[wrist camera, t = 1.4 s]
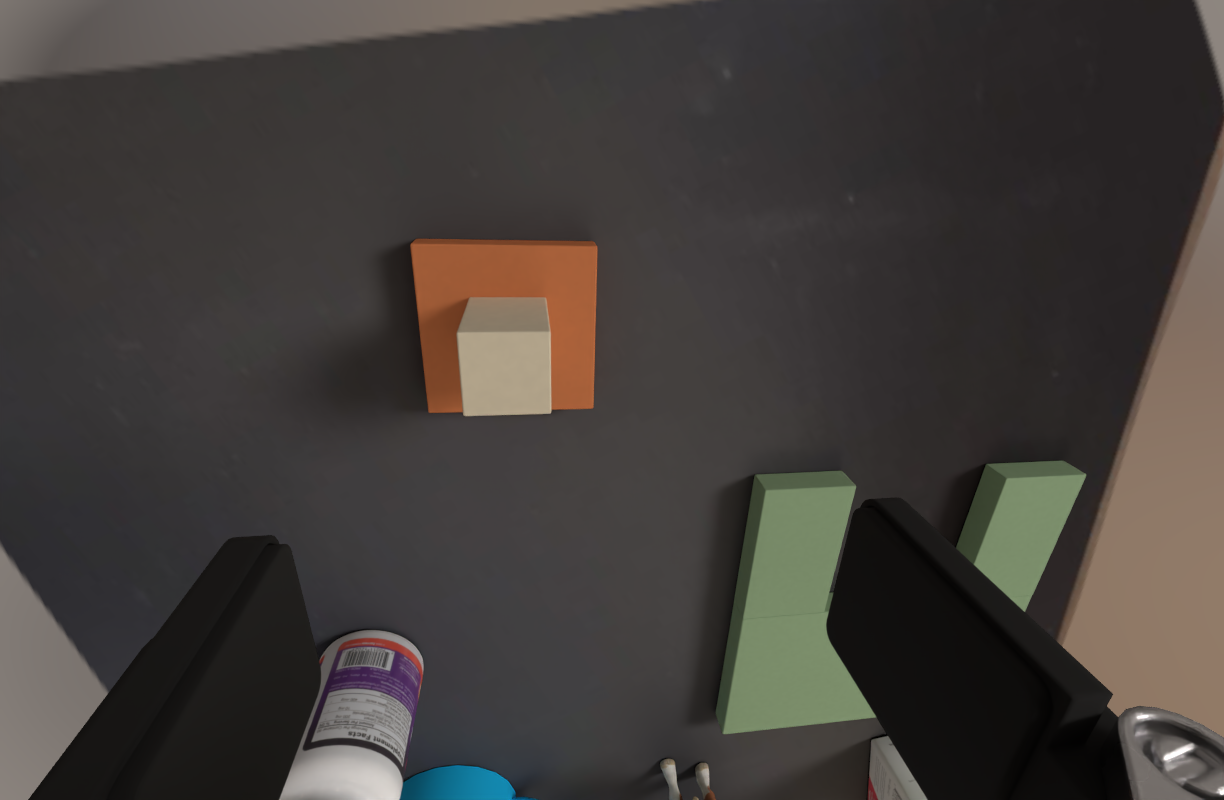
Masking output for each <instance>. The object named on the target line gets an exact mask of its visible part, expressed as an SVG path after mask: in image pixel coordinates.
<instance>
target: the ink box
mask: <svg viewBox="0 0 1224 800" xmlns="http://www.w3.org/2000/svg"><path fill="white" fill-rule="evenodd" d="M868 800H927V798H926V797H925V795H924V793H923V792H922V790H921V788H920V787H919V785H918V784H917V782H916V780H915V779H914V777H913V776H912V774H911V772H910V771H909V769H908V767H907V766H906V764H905V763H904V761H903V759H902V758H901V756H900V755H899V753H898V751H897V750H896V748H895V746H894V745H893V743H892V742H891V740H890V738H889V737H888V736H885V737H880V738H876V739H872V740H871V754H870V770H869V785H868Z"/></svg>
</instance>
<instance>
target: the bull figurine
mask: <svg viewBox="0 0 1224 800" xmlns="http://www.w3.org/2000/svg"><path fill="white" fill-rule="evenodd" d="M660 767H661V769H662V772H663V773H664V777H665V779H666V781H667V783H668V785H669V800H683V799H682V796H681V794H680V792H679V789H678V786H677V776H676V768H675V762H674V760H672V759H665V760H663V761H661V763H660ZM695 772H696V777H697V783H698V784H699V786H700V789H701V791H702V794H703V799H704V800H716V798H715V795H714V793H713V792H712V791H711V790H710V788H709V768H708V764H706V763H700V764H698V765H697V766H696V768H695ZM693 800H699V799H698V798H697V797H693Z"/></svg>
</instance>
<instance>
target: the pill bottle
mask: <svg viewBox="0 0 1224 800" xmlns="http://www.w3.org/2000/svg"><path fill="white" fill-rule="evenodd" d="M319 663H320V667H321V685H320V690H319V694H318V697H317V699H316V702H315V705H314V707H313V710H312V713H311V716H310V718H309V721H308V724H307V726H306V729H305V732H304V734H303V737H302V740H301V742H300V745H299V748H298V751H297V753H296V756H295V759H294V761H293V764H292V767H291V769H290V772H289V775H288V778H287V780H286V783H285V786H284V788H283V791H282V794H281V796H280V799H279V800H399V799H400V796H401V791H402V787H403V781H404V775H405V770H406V764H407V758H408V753H409V747H410V741H411V736H412V730H413V725H414V720H415V714H416V709H417V704H418V699H419V693H420V688H421V683H422V676H423V668H424V667H423V659H422V656H421V654H420V652H419V651H418V649H417V648H416V647H415V646H414V645H413V644H412V643H411V642H410V641H408V640H407V639H405V638H403V637H401V636H399V635H397V634H394V633H391V632H386V631H381V630H363V631H357V632H354V633H350V634H348V635H345V636H343V637H341V638H339V639H337V640H336V641H334V642H333V643H332V644H331V645H330V646H329V647H328V648H327V649H326V650H325V652H324V653H323V655H322V656H321V658H320V660H319Z"/></svg>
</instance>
